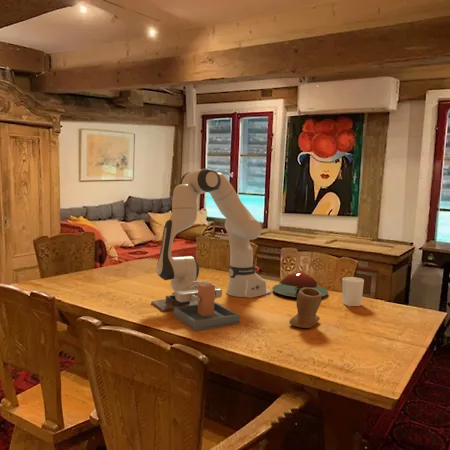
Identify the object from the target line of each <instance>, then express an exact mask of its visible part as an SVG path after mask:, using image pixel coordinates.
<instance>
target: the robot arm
mask: <svg viewBox="0 0 450 450" xmlns="http://www.w3.org/2000/svg"><path fill="white" fill-rule="evenodd" d="M179 180H180V181H179V184H178V185H176V186H175V187H174V188H173V193H172V194H173V195H172V202H171V203H172V204H171V215H170V217H169V219H167V221H165V224H164V227H163V231H162V237H161V238H162V239H161V245H160V251H159V257H158V261H157V264H156V273H157V275H158V277H160V278H161V279H162V280H164V281H169V280H170V286H171V288H172V290H173V292H171V295H173V296H175V298H176V300H177V301H178V302H188V301H198V302H200V301H202V300H201V299H202V298H201V297H200V296H198V284H206V283H210V284H212V282H211V281H203V280H201V281H200V280H198V277H199V274H200V265H199V263H198V261H197V259H196V258H195V257H194V256H193V255H182V256H172V250H173V243H174V239H175V236H176V235H177V234H178V233H180V232H183V231H184V230H187V229H189V228H190V227H191V226H193V225H195V223H196V221H197V216H198V208H197V207H198V203H197V199H198V196H199V195H203V194H205V193H208V194H209V195H210V196H211V198H212V200H213V201H214V203H215V205H216V207H217V208H218V210H219V212H220V213H221V215H223V216H224V218H225V221H224V229H225V230H226V232H227V236H228V237H227V238H228V242H229V247H230V249H229V251H230V259H229V260H230V262H229V263H230V264H229V268H228V269H229V270H228V276H229V277H228V278H229V280H228V285H227V288H226V291H225V293H226V294H227V295H229V296H231V297H239V298H247V299H252V298H255V297H256V298H257V297H260V296H265V295H269V294H271V290H270V289H268V287H267V284H266V281H265V279H264V278H262V277H261V276H260V275H259V274H257V273H256V272H259V271H260V267H259V266H257V265H256V266H255V265H254V264H253V262H254V261H253V260H254V259H253V258H254V257H253V256H254V250H253V248H252V246H251V240H256V239H258V238H259V236H260V235H261V233H262V224H261V223H260V221H258V220H257V219H256V218H255V217H254V215H252V213H251V212H250V210H249V209H248V208H247V207H246V206H245V205H244V203H243V202H242V200H241V199H240V197H239V195H238V193H237V192H236V190H235V188H234V186H233V185H232V184H231V182H230V181H229V179H228V178H227V177H226V176H225V174H223V173H222V172H217V171H216V170H214V169H211V168H199V169H195V170H193V171H190V172H186V173H185V174H183V175H182V176H181V178H180V179H179ZM212 285H214V286H215V297H214V301H215V300H216V299H218V298H222V296H223V290H222V288H221V287H220V286H217V285H216V284H212Z"/></svg>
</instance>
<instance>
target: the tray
mask: <svg viewBox="0 0 450 450" xmlns="http://www.w3.org/2000/svg"><path fill="white" fill-rule="evenodd" d="M173 317H175V318H176V319H178V320H179V321H181V322H182V323H183V324H185V325H186V326H187V327H189V328H190V329H191V330H193V331H196V332H197V331H203V330H208V329H214V328H221V327H224V326H225V327H226V326H230V325H233V326H234V325H236V324H237V325H239V324H240V317H241V314H239V313H237V312H235V311H233V310H232V309H230V308H228V307H226V306H224V305H222V304H220V303H219V302H217V301H214V315H208V316H202V315H200V314H199V313H198V305H190V306H183V307H176V308H174V310H173Z"/></svg>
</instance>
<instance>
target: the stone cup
mask: <svg viewBox="0 0 450 450" xmlns="http://www.w3.org/2000/svg"><path fill="white" fill-rule="evenodd" d="M322 297H323V296H322V295H321V293H320V292H319V291H318V290H316V289H313V288H302V289H301V290H300V291H299V292H298V296H297V297H296V308H297V314H295V315H294V316H293V317H292V318H290V319H289V320H288V322H289V325H291V326H293V327H295V328H303V329H310V328H312V327H314V326H315V325H316V324H317V323H318V322H319V321H320V316H318V315H317V312H318V310H319V308H320V305H321V303H322Z"/></svg>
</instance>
